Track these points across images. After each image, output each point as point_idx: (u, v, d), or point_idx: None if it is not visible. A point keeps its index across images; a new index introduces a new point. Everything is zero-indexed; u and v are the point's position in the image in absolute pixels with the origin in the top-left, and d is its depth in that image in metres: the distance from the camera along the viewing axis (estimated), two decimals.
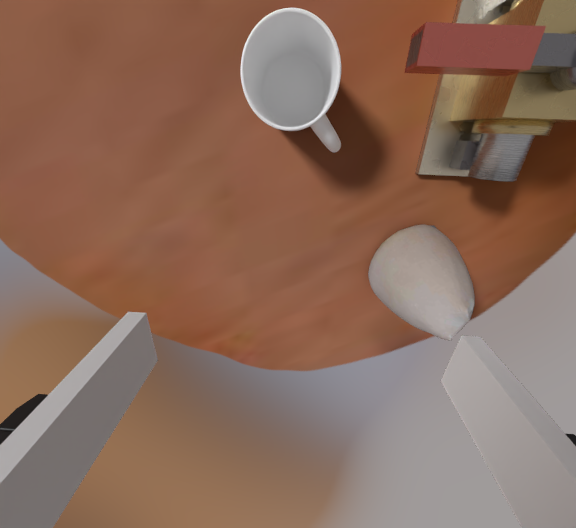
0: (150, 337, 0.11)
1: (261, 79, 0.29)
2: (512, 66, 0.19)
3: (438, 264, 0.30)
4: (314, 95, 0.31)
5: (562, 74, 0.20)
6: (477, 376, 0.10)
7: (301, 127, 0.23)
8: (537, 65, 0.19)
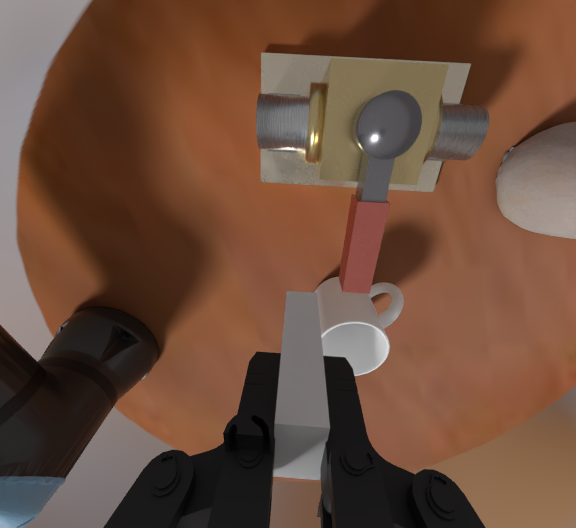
0: None
1: None
2: (384, 219, 0.20)
3: None
4: None
5: None
6: None
7: (388, 345, 0.29)
8: (386, 193, 0.19)
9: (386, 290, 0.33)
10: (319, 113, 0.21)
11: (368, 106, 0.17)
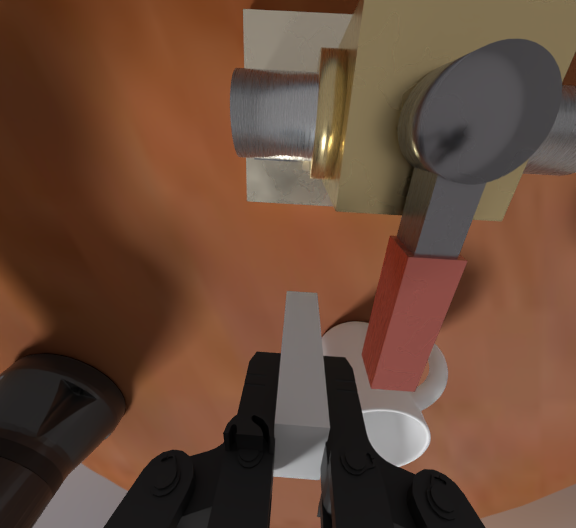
0: None
1: None
2: (453, 287, 0.11)
3: None
4: None
5: None
6: None
7: (429, 437, 0.20)
8: (460, 243, 0.11)
9: None
10: (337, 98, 0.12)
11: (450, 76, 0.08)
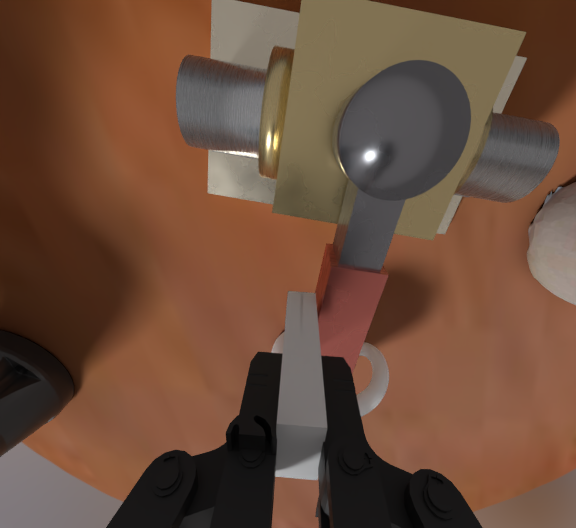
0: None
1: None
2: (375, 299, 0.11)
3: None
4: None
5: None
6: None
7: None
8: (383, 257, 0.11)
9: (367, 356, 0.24)
10: (281, 99, 0.12)
11: (363, 90, 0.08)
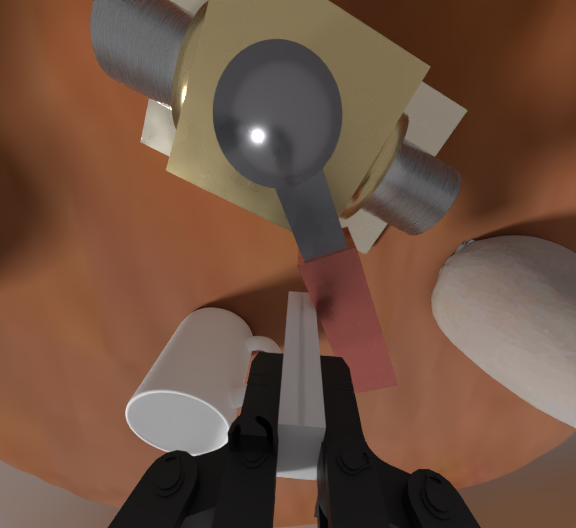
0: None
1: None
2: (360, 276, 0.11)
3: (523, 351, 0.16)
4: None
5: None
6: None
7: None
8: (342, 233, 0.10)
9: None
10: None
11: (215, 107, 0.08)
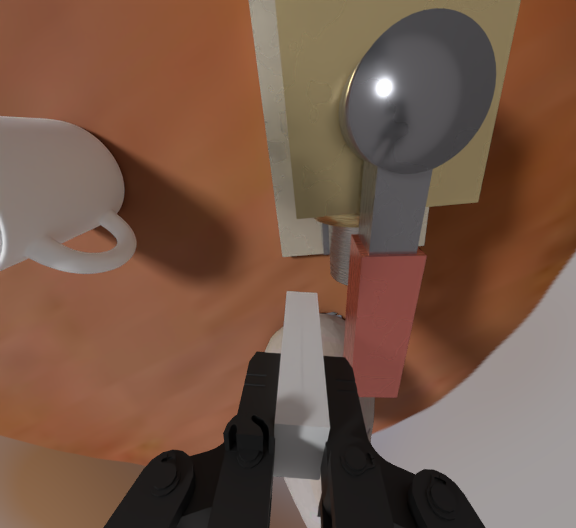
0: None
1: None
2: (416, 284, 0.10)
3: None
4: None
5: None
6: None
7: None
8: (417, 237, 0.10)
9: (119, 242, 0.20)
10: None
11: (366, 59, 0.07)
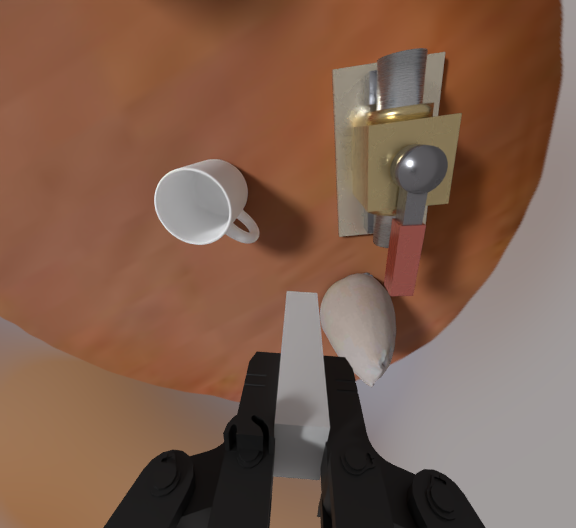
0: None
1: (191, 187, 0.36)
2: (422, 237, 0.25)
3: (359, 318, 0.35)
4: None
5: None
6: None
7: (212, 241, 0.29)
8: (422, 218, 0.25)
9: (252, 227, 0.35)
10: (417, 114, 0.24)
11: (405, 158, 0.22)
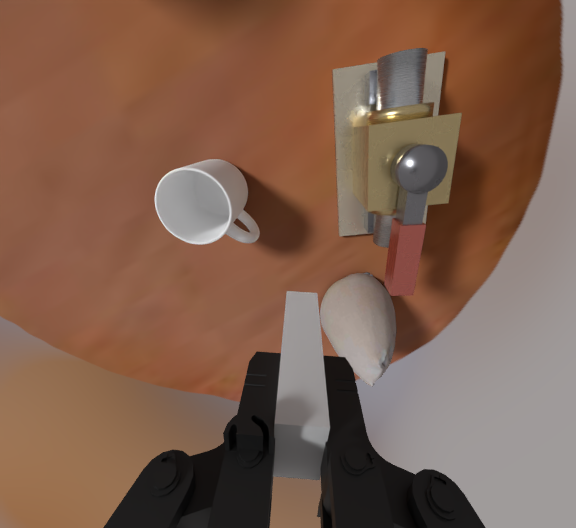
0: None
1: (191, 187, 0.36)
2: (422, 237, 0.25)
3: (359, 318, 0.35)
4: None
5: None
6: None
7: (212, 241, 0.29)
8: (422, 217, 0.25)
9: (252, 227, 0.35)
10: (417, 114, 0.24)
11: (405, 158, 0.22)
